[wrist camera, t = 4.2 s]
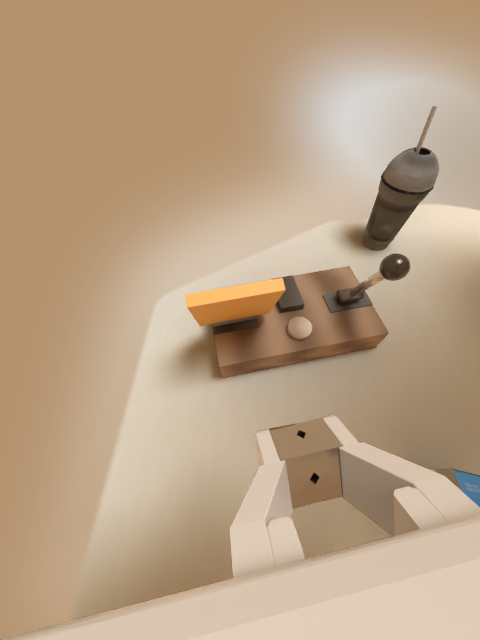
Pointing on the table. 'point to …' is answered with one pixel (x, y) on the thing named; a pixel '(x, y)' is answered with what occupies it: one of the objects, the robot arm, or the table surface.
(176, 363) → the table surface
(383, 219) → the beverage cup
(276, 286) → the orange paddle
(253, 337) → the control panel
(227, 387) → the table surface
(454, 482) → the label tape box
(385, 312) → the table surface
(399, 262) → the steel toggle lever
